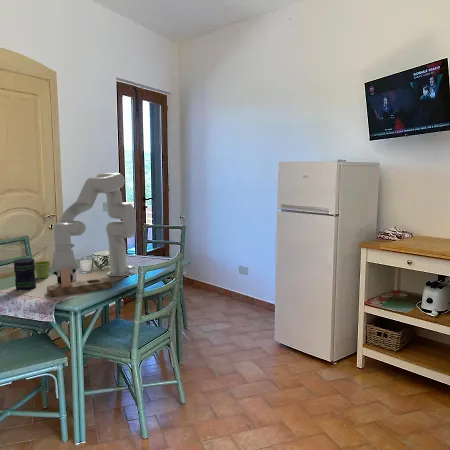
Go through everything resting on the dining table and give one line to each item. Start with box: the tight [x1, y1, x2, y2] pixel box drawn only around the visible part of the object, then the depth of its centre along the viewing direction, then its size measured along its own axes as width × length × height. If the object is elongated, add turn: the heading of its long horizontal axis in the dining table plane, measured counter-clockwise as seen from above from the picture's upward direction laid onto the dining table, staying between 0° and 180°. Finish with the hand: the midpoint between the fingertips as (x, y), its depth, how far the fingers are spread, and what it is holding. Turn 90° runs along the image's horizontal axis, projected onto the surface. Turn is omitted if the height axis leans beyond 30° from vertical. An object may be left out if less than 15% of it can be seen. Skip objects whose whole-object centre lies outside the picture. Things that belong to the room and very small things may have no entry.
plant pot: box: [34, 260, 52, 279], centre depth 238 cm, size 9×9×9 cm
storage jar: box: [13, 257, 37, 291], centre depth 216 cm, size 10×10×15 cm
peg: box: [60, 268, 71, 288], centre depth 208 cm, size 4×4×12 cm
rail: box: [46, 277, 113, 298], centre depth 212 cm, size 30×9×4 cm, turn 122°
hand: (65, 282), depth 208 cm, fingers closed on peg, 4 cm apart
